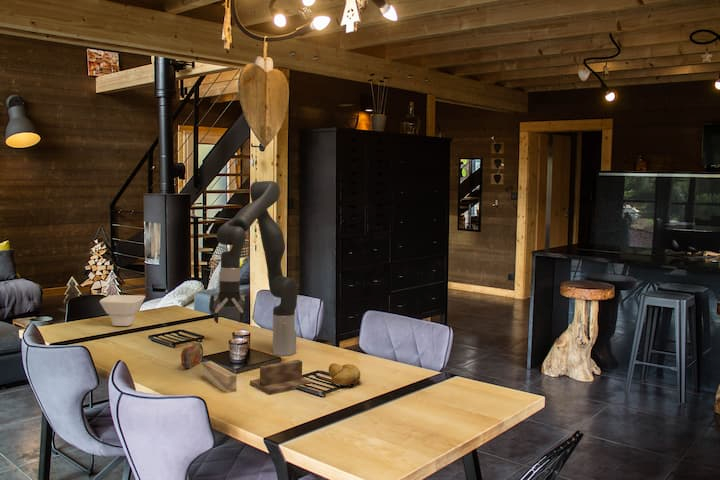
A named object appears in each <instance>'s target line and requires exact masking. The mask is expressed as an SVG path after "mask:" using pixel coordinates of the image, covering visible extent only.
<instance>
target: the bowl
mask: <svg viewBox="0 0 720 480" xmlns="http://www.w3.org/2000/svg"><path fill="white" fill-rule="evenodd" d="M145 298H146V296H145V295H138V294H137V295H135V294H131V295H130V294H126V295H125V294H112V295H108V296H105V297H103V298H102V299H100V300H99V304H100V305H101V306H102V307H101V308H103V310H104V311H105V313H106V314H107V315H109V318H110V321H111V324H112V326H115V327H128V326H131V325H133V324H134V320H135V317H136V313H137V312H139V309H140V308H141V305H142V304H143V302H144V300H145Z"/></svg>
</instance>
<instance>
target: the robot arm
mask: <svg viewBox="0 0 720 480" xmlns="http://www.w3.org/2000/svg"><path fill="white" fill-rule="evenodd" d="M280 194H281V190H280V186H279V184H278V183H277V182H276V181H273V180H263V181H255V182H252V183H251V184H250V187H249V195H250V199H251V202H250V203H249V204H246V205H245V206H243V207H242V208H240V210H239V211H238V212H237V213H236V214H235V216H234V217H233V218H231V219H230V220H228V221H226V222H225V223H223V224H222V225H221V226H219V228H218V230H217V232H216V240H217V241H218V243H219V244H221V245H223V246H231V249H230V250H226V251H223V252H222V253H221V255H220V268H219V269H220V270H219V280H218V281H219V282H218V283H219V287H218V294H217V295H215V294H210V297H209V306H208V308H209V309H208V310H209V311H210V312H211V313H213V320H214V321H213V322H215V324H219V311H220V310H221V309H222V308H223V307H224V308H227V307H230V308H231V307H232V308H233V307H236V308H237V310H238V311H239V312H238V323H239V324H240V323H242V322H243V320H244V313H245V312H248V311H249V296H248V295H247V294H244V295H241V294H240V290H241V268H240V266H241V265H240V264H241V255H242V251H243V248H244V245H245V243H246V242H245V241H246V237H247V235H246V232H247V231H248V230H249V229H250V228H251V227H252V225H253V224H254V223H255V221H256V220H257V223H258V227H259V233H260V239H261V244H262V248H263V252H264V257H265V258H264V259H265V263H266V269H267V279H268V287H269V291H270V294H271V295H272V296H273V297H275V298H279V299H280V303H279V305H276V306H274V307H273V309H272V312H273V313H272V355H274V356H280V357H283V356H284V357H286V356H287V357H288V356H292V355H294V354H297V331H296V330H295V327H296V326H295V325H296V324H295V319H296V318H295V315H296V309H297V304H298V289H299V288H298V283H297V281H296V279H295V278H292V277H289V276H288V277H287V276H284V274H283V270H282V260H283V256H284V253H285V250H286V244H285V238H284V233H283V230H282V229H281V227H280V226H279V224H278V223H277V222H276V221H275V220H274V219H273V217H272V215H270V213H269V211H268V209H269V208H270V207H272V206H273V205H274V204H275V203H276V202H277V201H278V200H279V197H280ZM216 300H218V301H219V303H218V304H217V306H216V307H215V308H214V303H215V302H216ZM240 300H242V301H243V308H242V307H241V305H240V304H239V301H240Z"/></svg>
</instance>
